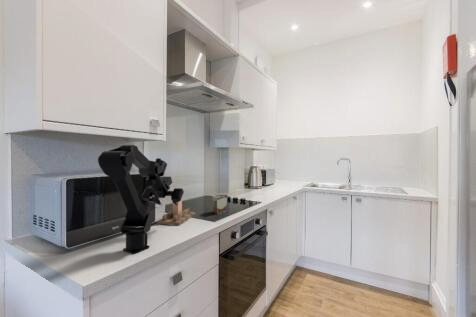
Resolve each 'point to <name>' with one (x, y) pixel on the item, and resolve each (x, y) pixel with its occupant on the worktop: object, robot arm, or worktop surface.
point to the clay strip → (177, 208)
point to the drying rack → (176, 217)
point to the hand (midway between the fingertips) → (169, 204)
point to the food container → (220, 203)
